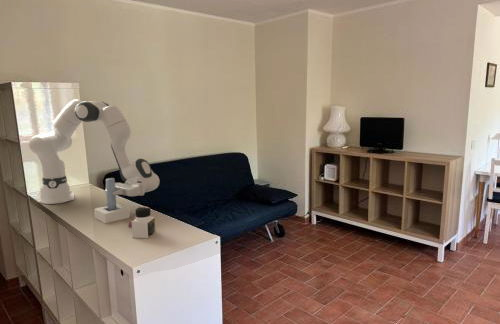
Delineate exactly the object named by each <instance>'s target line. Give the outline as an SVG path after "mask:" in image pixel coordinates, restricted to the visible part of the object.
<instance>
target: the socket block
mask: <svg viewBox="0 0 500 324" xmlns="http://www.w3.org/2000/svg"><path fill="white" fill-rule="evenodd" d="M116 208H117V210H112V211H108V207H107V206H100V207H96V208H94V209H93V210H94V211H93V212H94V219H96V220H99V221H100V222H101V223H104V224H107V223H113V222H116V221H122V220H126V219H129V218H130V208H129V207H126V206H124V205H122V204H119V203H116Z"/></svg>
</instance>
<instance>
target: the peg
mask: <svg viewBox="0 0 500 324" xmlns="http://www.w3.org/2000/svg"><path fill="white" fill-rule="evenodd" d="M115 179H116V178H114V177H110V178H109V177H108V178H106V179H105V190H106V192H107V193H106V202H107V203H106V205H107V207H108V211H112V210H117V208H116V204H117V195H112V191H115V183H116V180H115Z"/></svg>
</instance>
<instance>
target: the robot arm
mask: <svg viewBox="0 0 500 324" xmlns="http://www.w3.org/2000/svg"><path fill="white" fill-rule="evenodd" d="M82 122H86V123H97V122H102V124H103V125H104V127H105V128H106V131H107V133H108V135H109V139H110V146H111V150H112V153H113V156H114V158H115V161H116V164H117V166H118V169H119V175H120V178H121V180H122V181H123V182H124V183H122V182H115V191H112V195H116V196H117V195H122V196H126V197H127V196H128V197H137V196H144V195H145V193H148V192H152V191H154V190H156V189H157V188H158V187H159V186H160V178H159V176H158V175H157V174H156V173H155V172H154V171H153V169H152V168H151V164H150V163H149V162H148V160H146V159H144V158H137V159H136V160H134V161H133V162H131V163H130V161H129V158H128V155H127V153H126V144H127V143H128V140H129V139H130V138H131V132H132V130H131V127H130V125H129V123H128V121H127V119H126V118H125V116H124V114H123V113H122V110H120V109H119V107H118V106H116V105H110V104H109V103H107V102H104V101H98V100H97V101H96V100H91V101H90V100H89V101H87V100H85V101H82V100H81V99H73V100H71V101H69V102H68V104H66V106H64V108H63V109H62V110H61V111H60V112H59V114H58V115H57V116H56V118H55V119H54V120H53V123H52V124H53V127H54V129H53V130H52V131H51V132H48V133H47V132H46V133H40V134H37V135H34V136H32V137H31V138H30V139H29V141H28V147H29V150H31V152H32V153H34V154H35V155H36V156H37V157H38V159H39V162H40V165H41V170H42V171H41V172H42V180H41V181H42V185H41V186H40V189H39V190H40V191H39V192H40V193H39V194H40V199H38V200H37V203H42V204H45V205H54V204H56V205H57V204H62V203H66V202H68V201H69V202H70V201H74V200H75V199H76V197H75V194H74V192H72V191H71V189H70V185H69V184H68V181H67V180H68V178H67V175H66V168H65V167H66V166H65V162H64V161H63V160H62V159H60V157H59V155H58V153H59V152H64V151H66V150H67V149H70V147H71V146H72V144H73V140H72V136H73V134H74V133H75V131H76V130H77V128H78V127H79V126H80V124H81V123H82ZM104 193H105V194H107V192H106V189H105V190H104Z"/></svg>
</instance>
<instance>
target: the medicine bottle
mask: <svg viewBox="0 0 500 324" xmlns="http://www.w3.org/2000/svg"><path fill="white" fill-rule="evenodd" d="M134 212H135V215H134V216H136V219H135V220H133V221H132V227H131V234H132V235H131V236H132V239H147V240H148V239H149V238H151V237H152V236H153V235H154V234H155V233H156V222H155V216H151V208H150V207H148V206H139V207H137V208H136V209H135V211H134Z"/></svg>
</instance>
